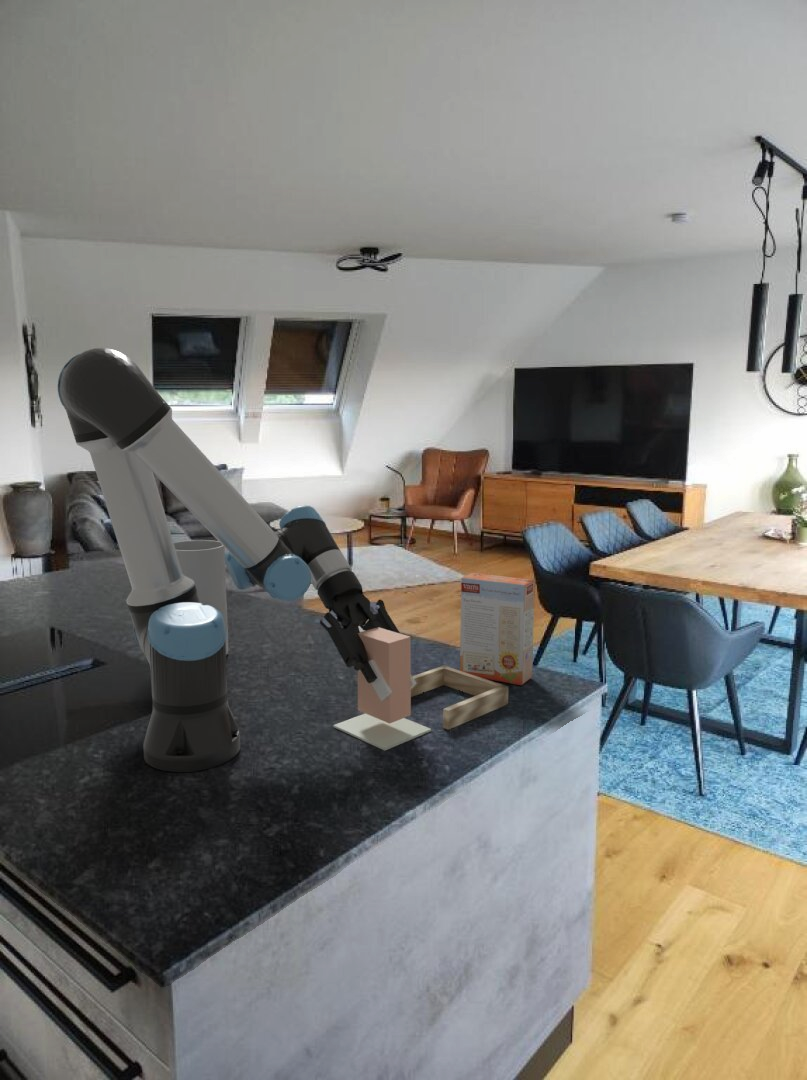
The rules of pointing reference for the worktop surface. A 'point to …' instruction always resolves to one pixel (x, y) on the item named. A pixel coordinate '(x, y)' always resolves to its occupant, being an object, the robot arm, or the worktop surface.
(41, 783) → the worktop surface
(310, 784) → the worktop surface
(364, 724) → the sage mat
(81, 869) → the worktop surface
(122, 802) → the worktop surface
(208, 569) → the cylinder vase
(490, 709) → the birch bay
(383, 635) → the peach block
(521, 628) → the cracker box
